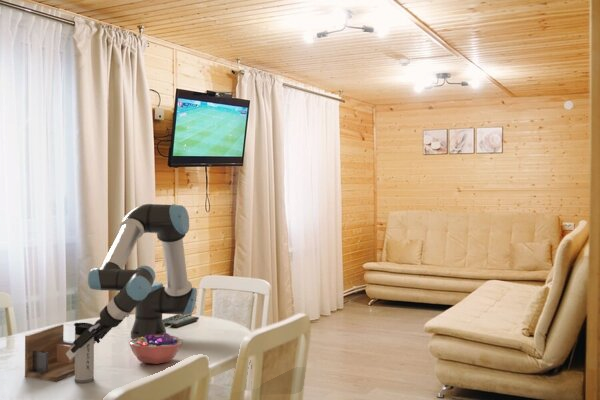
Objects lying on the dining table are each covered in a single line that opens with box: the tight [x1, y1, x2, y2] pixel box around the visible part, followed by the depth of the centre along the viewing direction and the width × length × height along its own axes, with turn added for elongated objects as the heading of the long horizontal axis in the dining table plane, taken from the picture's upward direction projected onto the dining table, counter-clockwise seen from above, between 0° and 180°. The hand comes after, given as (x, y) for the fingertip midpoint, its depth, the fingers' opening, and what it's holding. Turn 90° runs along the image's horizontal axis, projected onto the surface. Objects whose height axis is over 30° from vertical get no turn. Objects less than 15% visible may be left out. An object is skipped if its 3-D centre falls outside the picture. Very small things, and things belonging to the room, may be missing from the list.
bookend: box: [28, 350, 48, 375], centre depth 216 cm, size 6×3×7 cm, turn 71°
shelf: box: [24, 323, 75, 383], centre depth 222 cm, size 14×18×14 cm
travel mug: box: [73, 322, 95, 384], centre depth 214 cm, size 6×7×20 cm
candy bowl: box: [128, 332, 183, 365], centre depth 236 cm, size 17×20×11 cm
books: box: [57, 339, 75, 363], centre depth 230 cm, size 6×4×7 cm, turn 71°
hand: (75, 353), depth 215 cm, fingers closed on travel mug, 6 cm apart
